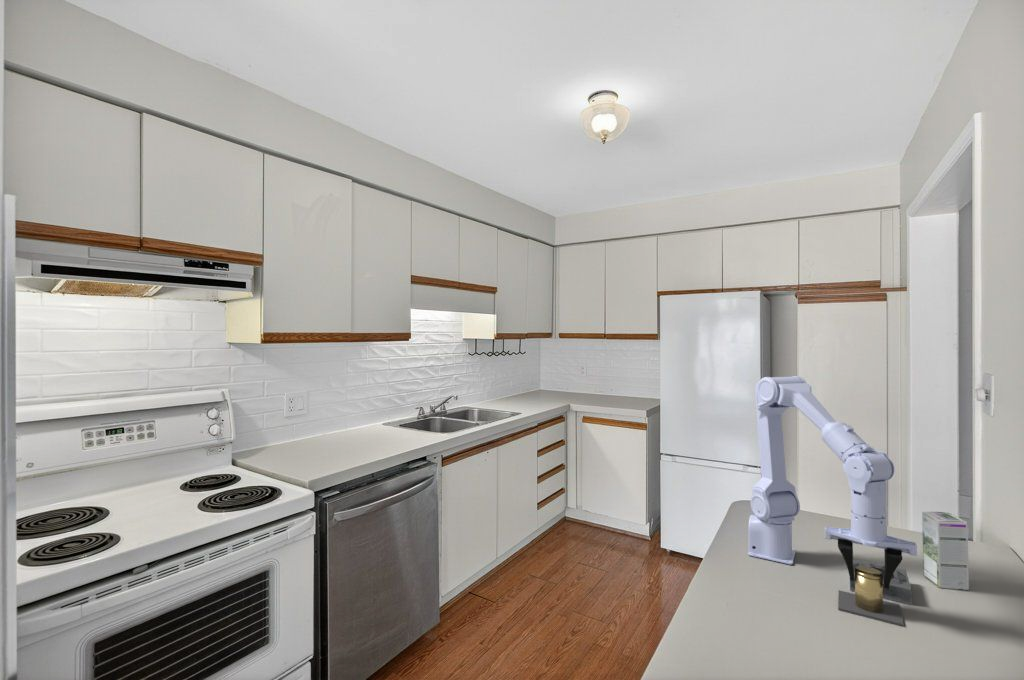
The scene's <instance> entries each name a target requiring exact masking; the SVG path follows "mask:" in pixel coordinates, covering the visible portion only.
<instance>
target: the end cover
mask: <svg viewBox="0 0 1024 680" xmlns="http://www.w3.org/2000/svg"><path fill="white" fill-rule="evenodd" d="M854 594H855V604H856V606H858V607H859V608H861V609H863V610H865V611H868V612H873V613H880V612H882V611H883V601H884V598H883V574H882V573H881V572H880V571H879V570H877V569H874V568H871V567H867V566H857V567H855V592H854Z"/></svg>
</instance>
